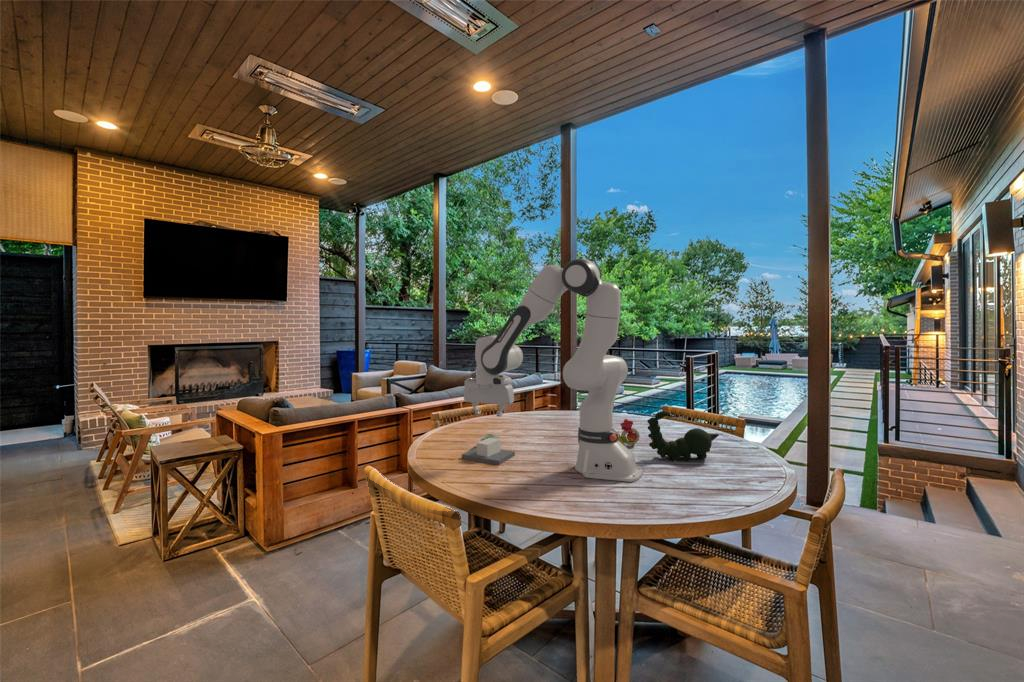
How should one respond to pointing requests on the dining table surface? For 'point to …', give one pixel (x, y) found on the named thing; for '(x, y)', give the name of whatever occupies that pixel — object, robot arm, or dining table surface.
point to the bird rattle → (631, 436)
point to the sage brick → (490, 436)
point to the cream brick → (488, 447)
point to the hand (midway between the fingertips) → (488, 415)
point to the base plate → (492, 459)
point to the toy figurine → (679, 441)
